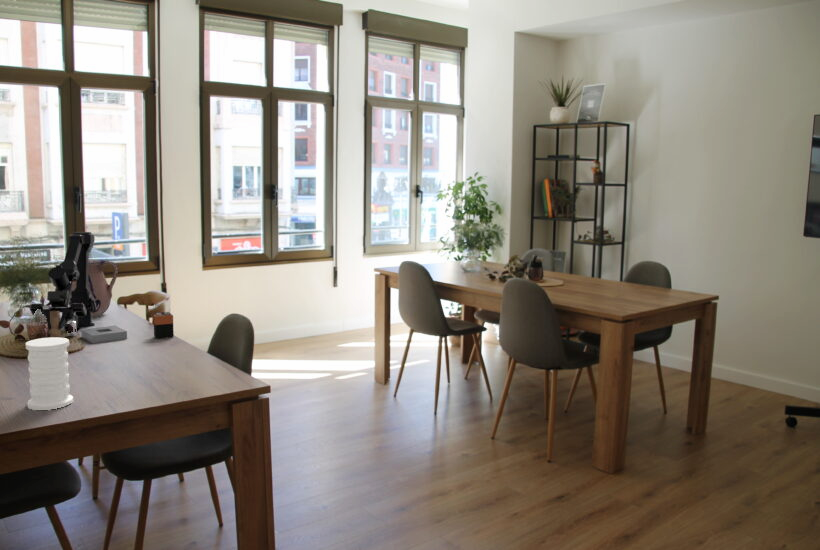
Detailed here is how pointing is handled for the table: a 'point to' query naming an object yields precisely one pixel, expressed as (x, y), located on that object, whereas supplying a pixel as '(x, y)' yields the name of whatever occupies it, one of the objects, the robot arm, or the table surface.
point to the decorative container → (48, 373)
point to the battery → (163, 325)
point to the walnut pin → (55, 323)
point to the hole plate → (104, 334)
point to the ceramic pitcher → (99, 285)
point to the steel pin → (73, 324)
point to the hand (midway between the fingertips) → (54, 329)
